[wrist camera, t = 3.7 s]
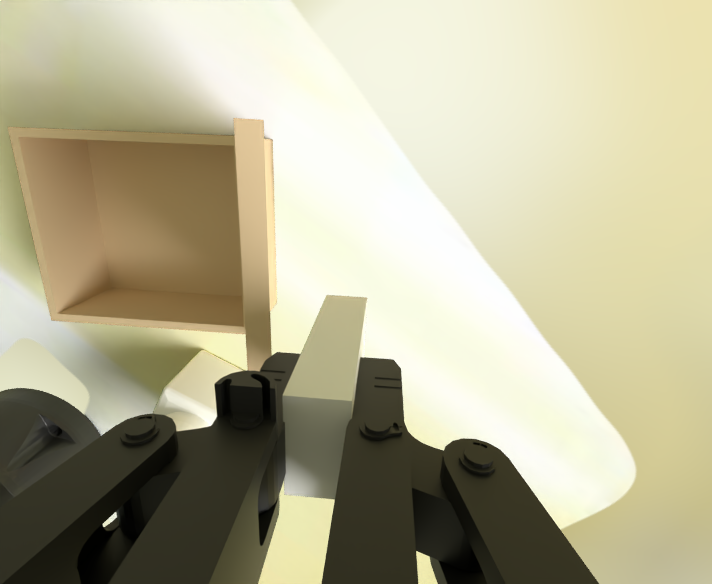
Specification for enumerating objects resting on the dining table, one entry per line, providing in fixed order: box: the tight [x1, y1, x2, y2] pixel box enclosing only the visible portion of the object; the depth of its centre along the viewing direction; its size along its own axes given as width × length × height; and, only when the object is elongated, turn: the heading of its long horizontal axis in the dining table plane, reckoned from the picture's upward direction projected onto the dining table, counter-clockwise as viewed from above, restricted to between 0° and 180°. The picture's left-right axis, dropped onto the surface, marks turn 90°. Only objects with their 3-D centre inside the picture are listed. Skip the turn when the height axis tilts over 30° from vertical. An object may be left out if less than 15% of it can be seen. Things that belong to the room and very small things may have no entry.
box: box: [8, 127, 277, 334], centre depth 32 cm, size 16×14×7 cm
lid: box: [234, 118, 271, 371], centre depth 21 cm, size 16×14×1 cm
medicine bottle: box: [152, 350, 243, 431], centre depth 35 cm, size 7×7×12 cm
